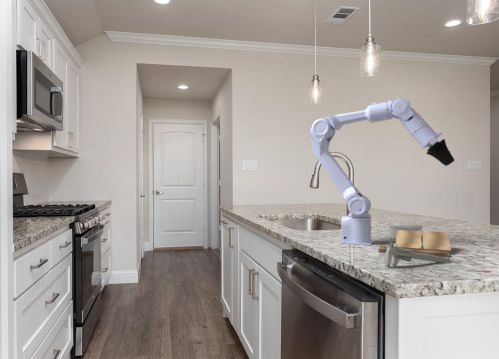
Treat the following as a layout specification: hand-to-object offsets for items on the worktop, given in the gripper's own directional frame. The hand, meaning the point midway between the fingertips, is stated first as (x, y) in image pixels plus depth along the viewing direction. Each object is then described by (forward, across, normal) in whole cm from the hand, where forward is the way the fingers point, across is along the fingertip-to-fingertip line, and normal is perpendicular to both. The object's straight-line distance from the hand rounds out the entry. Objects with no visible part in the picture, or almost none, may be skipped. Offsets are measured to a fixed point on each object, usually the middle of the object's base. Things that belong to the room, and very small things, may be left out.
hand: (450, 163), depth 116 cm
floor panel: (+14, -12, +25) cm, 31 cm away
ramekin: (+12, +17, +26) cm, 34 cm away
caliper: (+16, -26, +24) cm, 38 cm away
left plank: (+12, -4, +24) cm, 27 cm away
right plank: (+16, -4, +18) cm, 25 cm away
